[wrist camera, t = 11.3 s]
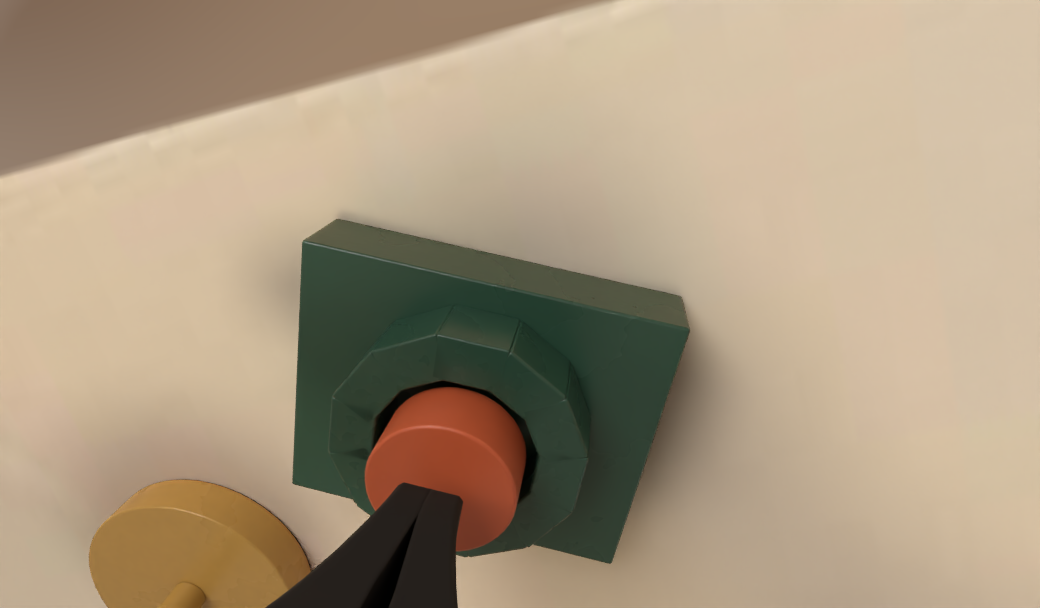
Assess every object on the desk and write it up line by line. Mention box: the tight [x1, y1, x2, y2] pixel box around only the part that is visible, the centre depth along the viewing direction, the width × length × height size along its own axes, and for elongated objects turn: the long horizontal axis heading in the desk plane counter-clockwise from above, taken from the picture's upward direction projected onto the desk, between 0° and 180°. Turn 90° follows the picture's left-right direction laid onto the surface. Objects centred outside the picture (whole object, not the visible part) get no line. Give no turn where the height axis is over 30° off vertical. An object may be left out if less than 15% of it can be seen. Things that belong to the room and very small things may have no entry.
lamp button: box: [365, 387, 526, 551], centre depth 15 cm, size 4×4×2 cm
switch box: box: [292, 219, 690, 564], centre depth 17 cm, size 10×8×4 cm
